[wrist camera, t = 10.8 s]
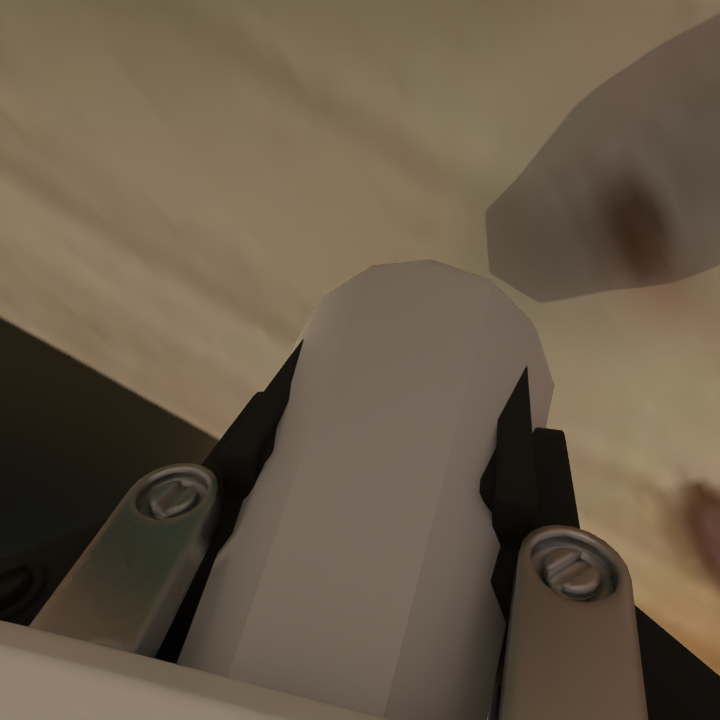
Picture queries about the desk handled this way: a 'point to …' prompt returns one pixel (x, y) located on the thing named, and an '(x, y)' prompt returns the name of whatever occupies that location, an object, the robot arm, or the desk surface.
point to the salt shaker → (378, 504)
